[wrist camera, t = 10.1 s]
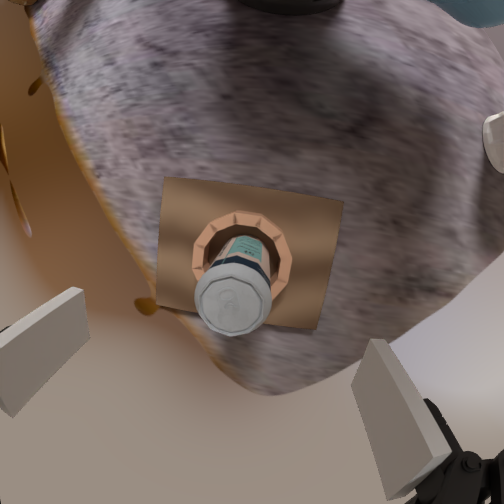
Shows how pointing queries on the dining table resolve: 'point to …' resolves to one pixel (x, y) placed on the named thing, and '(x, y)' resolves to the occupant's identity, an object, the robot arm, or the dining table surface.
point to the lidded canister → (236, 287)
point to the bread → (23, 2)
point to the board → (257, 201)
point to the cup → (494, 140)
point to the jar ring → (248, 219)
